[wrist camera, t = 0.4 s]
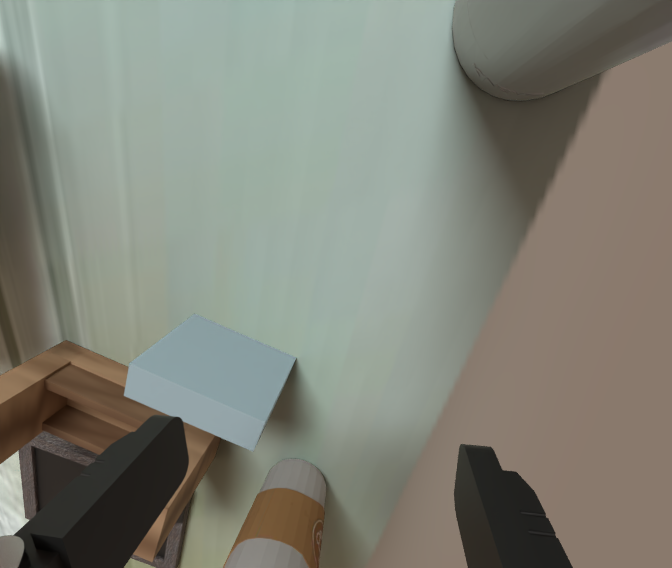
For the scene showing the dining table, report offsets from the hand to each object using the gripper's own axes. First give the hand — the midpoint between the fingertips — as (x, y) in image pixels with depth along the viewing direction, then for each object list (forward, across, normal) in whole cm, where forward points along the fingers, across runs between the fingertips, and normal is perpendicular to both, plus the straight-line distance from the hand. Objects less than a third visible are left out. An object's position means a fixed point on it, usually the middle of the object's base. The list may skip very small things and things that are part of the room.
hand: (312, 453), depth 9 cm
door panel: (+18, +11, +7) cm, 22 cm away
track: (+19, +22, +14) cm, 32 cm away
